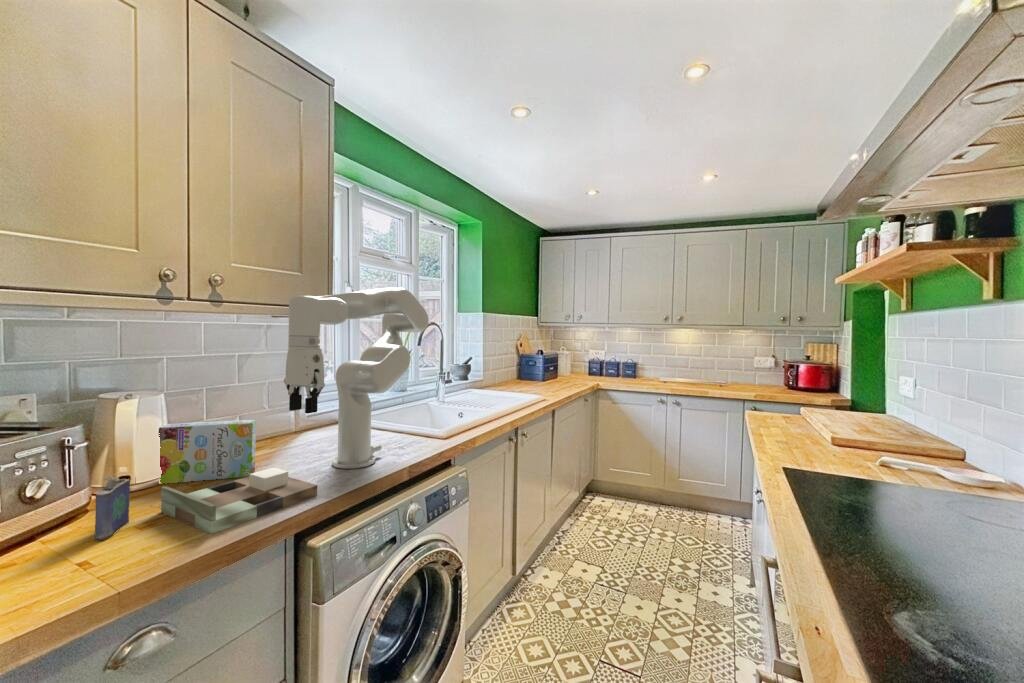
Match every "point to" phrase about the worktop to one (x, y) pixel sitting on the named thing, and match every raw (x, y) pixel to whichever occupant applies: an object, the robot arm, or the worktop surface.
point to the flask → (112, 508)
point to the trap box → (231, 503)
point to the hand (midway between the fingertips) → (303, 410)
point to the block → (268, 479)
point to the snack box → (207, 450)
